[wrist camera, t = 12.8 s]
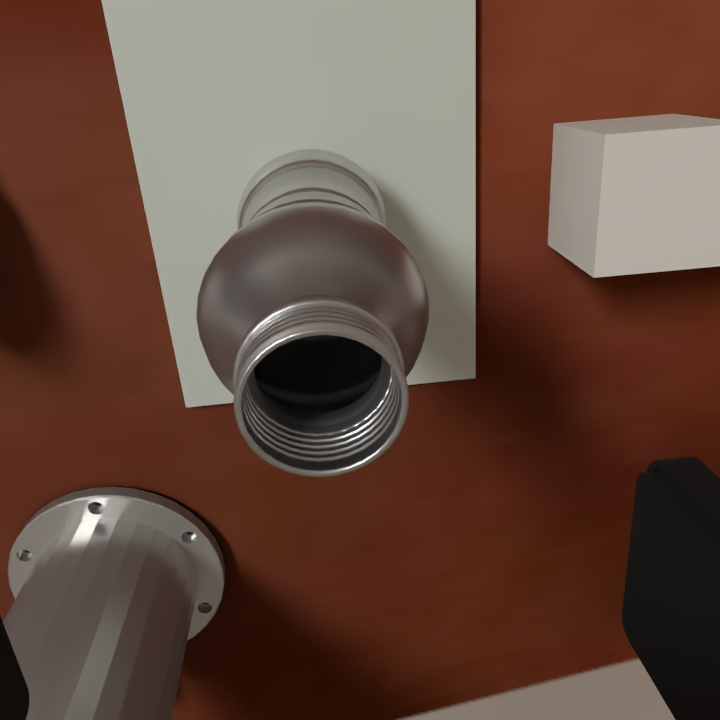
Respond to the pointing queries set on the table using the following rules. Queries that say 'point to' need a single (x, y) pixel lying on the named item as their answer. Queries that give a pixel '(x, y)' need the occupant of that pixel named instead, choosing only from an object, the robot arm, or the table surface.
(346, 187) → the metal bottle
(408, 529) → the table surface
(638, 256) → the lettered cube
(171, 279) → the sage mat
